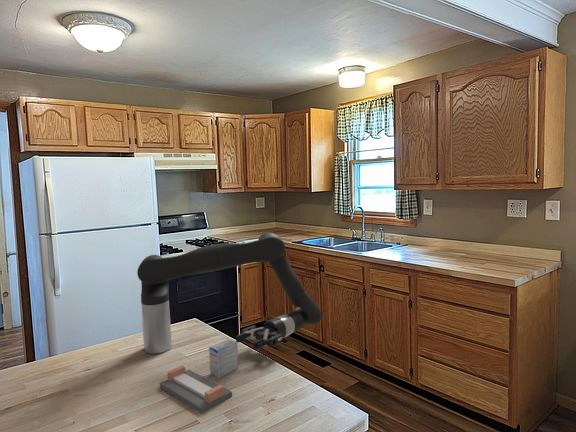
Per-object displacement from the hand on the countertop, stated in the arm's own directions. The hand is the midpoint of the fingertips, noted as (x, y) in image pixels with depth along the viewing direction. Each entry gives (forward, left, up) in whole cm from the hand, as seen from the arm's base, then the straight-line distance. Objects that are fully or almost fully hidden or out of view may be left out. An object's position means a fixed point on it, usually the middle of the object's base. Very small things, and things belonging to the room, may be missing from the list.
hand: (245, 342), depth 129 cm
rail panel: (+3, -22, -6) cm, 23 cm away
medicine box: (0, -9, -6) cm, 11 cm away
